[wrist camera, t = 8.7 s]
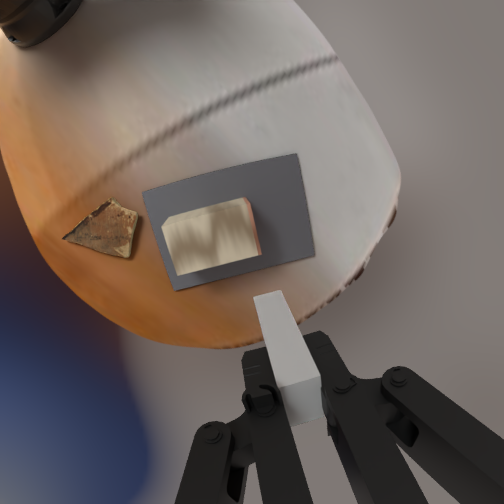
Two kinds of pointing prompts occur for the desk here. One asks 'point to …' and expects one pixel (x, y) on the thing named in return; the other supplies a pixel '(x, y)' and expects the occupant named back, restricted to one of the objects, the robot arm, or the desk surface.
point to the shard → (106, 229)
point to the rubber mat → (263, 208)
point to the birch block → (211, 236)
